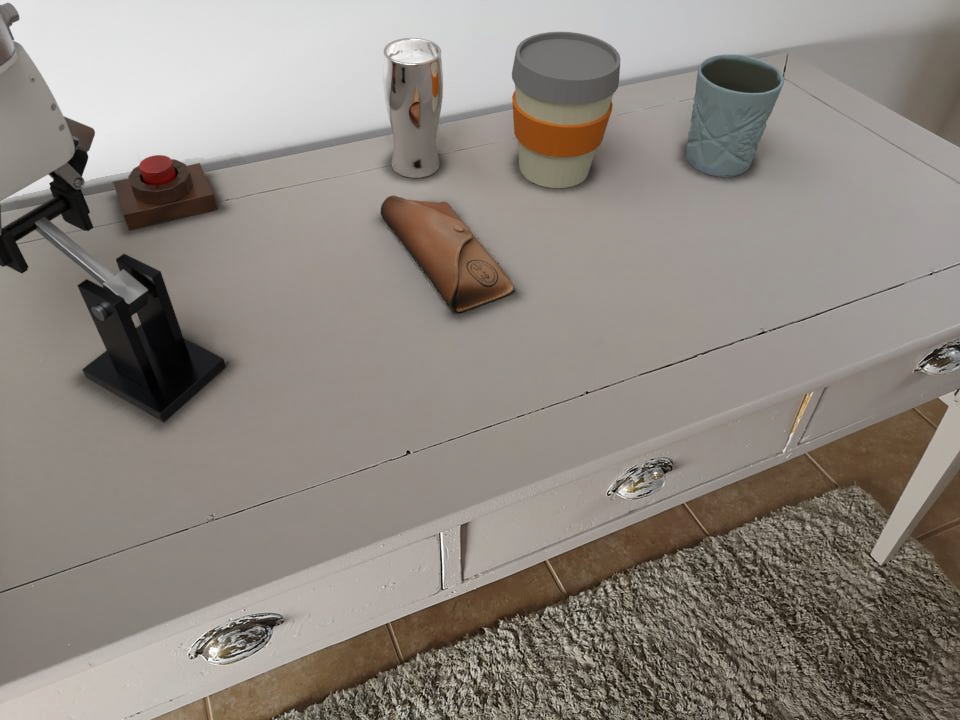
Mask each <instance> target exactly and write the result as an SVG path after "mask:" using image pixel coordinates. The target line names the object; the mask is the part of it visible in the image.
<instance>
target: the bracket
mask: <svg viewBox="0 0 960 720" xmlns="http://www.w3.org/2000/svg"><path fill="white" fill-rule="evenodd" d="M115 262H116V264H117V268H118V271H119V272H120V271H121V270H123V269H124V270H125V271H126V272H128V273H129V274H130V275H131V276H132V277H134V278H135V279H136V280H137V281H139V282H140V283H141V284H142V285H143V286H145V287H146V288H147V289H148V302H147V305H146V306H144V307H143V308H142V309H140V310H139V311H138V312H136V313H135V314H136V315H137V318H138V320H139V323H140V324H139V325H137V326H136V325H135V322H134V320H133V318H132V317H133V316H131V315H130V312H129V310H128V307H127V305H126V302H125V300H124V298H123V297H121V296H119V295H117V294H115V293H113V292H111V291H109V290H107V289H105V288H103V286H102V285H100V284H97V283H95V282H93V281H91V280H90V279H88V278H86V279H84V280H82V281H81V282H80V283H79V284H77V289H78V290H79V291H78V292H79V293H80V295H81V297H82V299H83V301H84V304H85V306H86V308H87V311H88V313H89V315H90V317H91V319H92V321H93V324H94V326H95V328H96V331H97V332H98V335H99V337H100V339H101V342H102V344H103V346H104V348H105V351H103V353H102V354H100V355H99V356H97V357H96V358H95V359H93V360H92V361H91V362H90V363H89V364H87V365H86V366H85V367H83V368H82V372H83V374H84V376H85V378H86V379H88V380H89V381H91V382H92V383H95V384H97V385H98V386H100V387H102V388H103V389H105V390H107V391H108V392H110V393H112V394H114V395H116V396H118V397H119V398H120V399H122V400H125V401H126V402H128V403H130V404H132V405H133V406H135V407H137V408H139V409H140V410H142V411H144V412H145V413H147V414H149V415H150V416H152V417H154V418H156V419H157V420H159V421H161V422H166V421H167V420H168V419H169V418H170V417H172V415H174V414H175V413H176V412H177V411H178V410H179V409H180V408H181V407H183V406H184V405H185V404H186V403H187V402H188V401H189V400H191V399H192V398H193V397H194V396H195V395H196V394H197V393H199V391H200V390H202V389H203V388H205V386H207V384H208V383H210V382H211V381H212V380H213V379H214V378H215V377H216V376H218V375H219V374H220V373H221V372H222V371H223V370H224V369H225V368H226V367H227V366H226V362H225V359H224V358H223V357H222V356H220V355H217V354H216V353H214V352H212V351H210V350H208V349H206V348H204V347H202V346H201V345H198V344H197V343H194V342H193V341H190V340H189V339H187V338H185V337H184V334H183V332H182V329H181V326H180V324H179V321H178V317H177V314H176V312H175V309H174V306H173V304H172V300H171V296H170V294H169V291H168V289H167V285H166V283H165V279H164V277H163V274H162V271H161V270H159V269H157V268H156V267H153V266H152V265H149V264H146V262H145V263H144V262H143V261H140V260H138V259H136V258H134V257H133V256H131V255H128V254H126V253H123V254H121V255H119V256H118V257H116V258H115Z"/></svg>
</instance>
